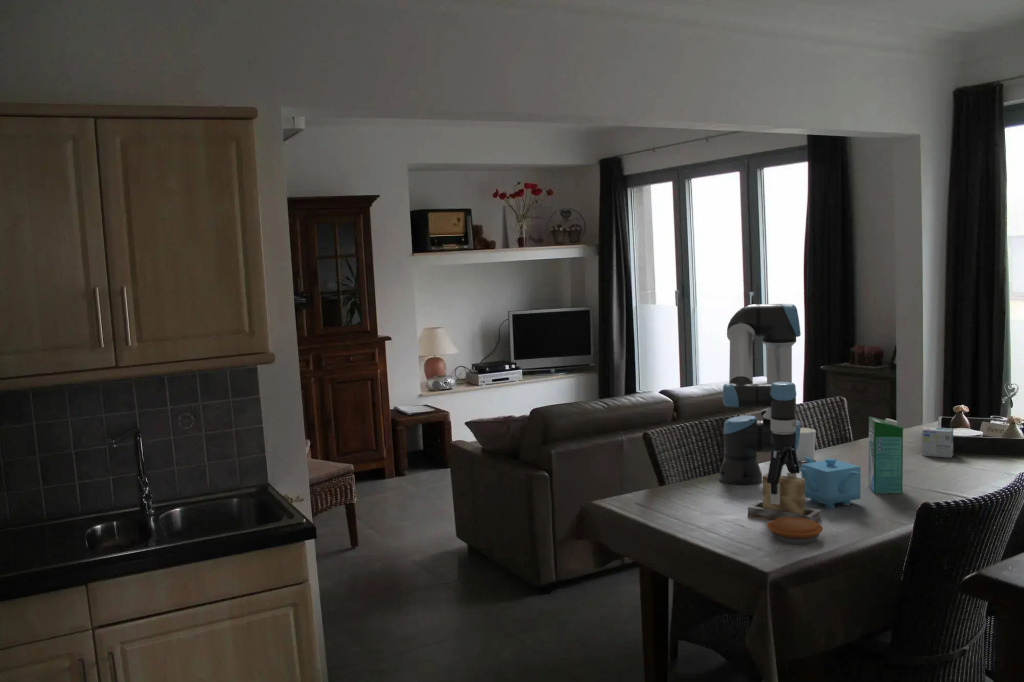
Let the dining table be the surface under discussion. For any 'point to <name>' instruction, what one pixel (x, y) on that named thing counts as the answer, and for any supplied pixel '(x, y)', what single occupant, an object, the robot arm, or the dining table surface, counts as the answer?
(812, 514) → the tray
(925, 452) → the light bulb box
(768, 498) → the beige square slab
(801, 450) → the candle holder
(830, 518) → the dining table surface
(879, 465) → the milk carton
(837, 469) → the blue lidded box
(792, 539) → the pie
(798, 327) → the robot arm
